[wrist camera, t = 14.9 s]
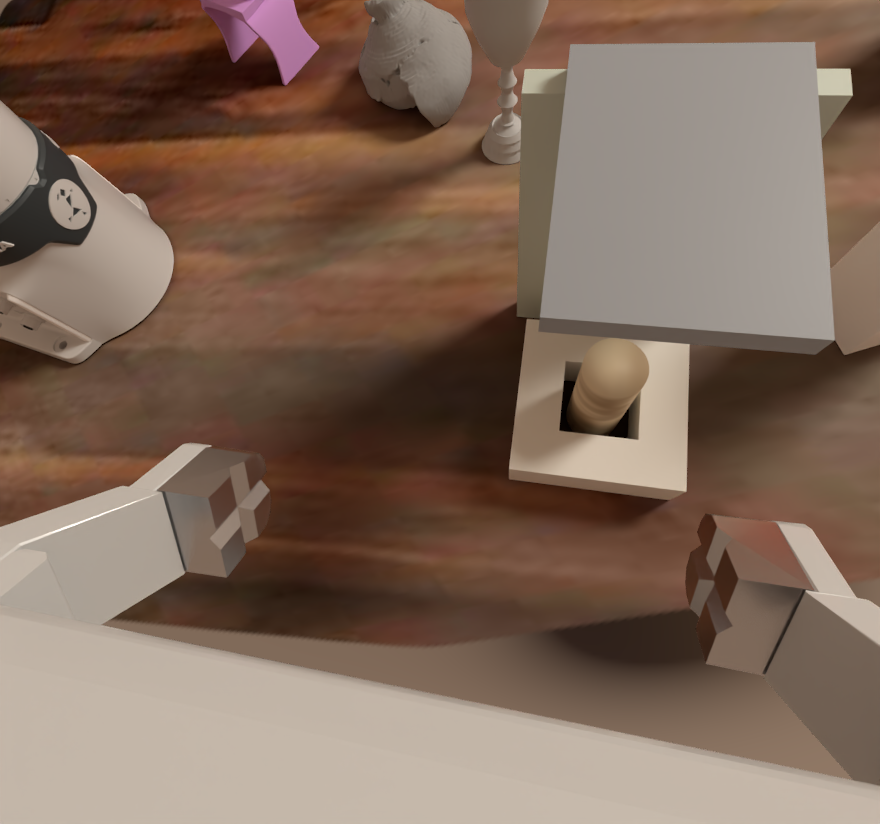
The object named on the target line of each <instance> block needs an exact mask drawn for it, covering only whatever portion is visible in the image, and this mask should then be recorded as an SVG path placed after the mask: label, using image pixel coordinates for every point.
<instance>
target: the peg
mask: <svg viewBox="0 0 880 824" xmlns="http://www.w3.org/2000/svg"><path fill="white" fill-rule="evenodd" d="M648 376H649V363H648V360H647V357H646V355H645V354H644V352H643V351H642V350H641V349H640V348H639V347H638V346H637V345H635V344H634V343H632V342H630V341H627V340H624V339H619V338H610V339H605V340H602V341H599V342H597V343H596V344H594V345H593V346H592V347H591V348H590V349H589V350H588V351H587V353H586V355H585V357H584V359H583V362H582V365H581V368H580V371H579V374H578V377H577V380H576V383H575V386H574V389H573V392H572V395H571V398H570V401H569V404H568V407H567V411H566V419H567V423H568V425H569V427H570V428H571V430H572V431H573V432H574V433H583V434H591V435H600V436H607V435H609V434H610V433H611V432H612V431H613V430H614V428H615V427H616V425H617V424H618V422H619V421H620V420H621V418H622V417H623V415H624V414H625V412H626V411H627V409H628V408H629V406H630V405H631V404H632V402H633V401H634V399H635V398H636V396H637V395H638V393H639V392H640V390H641V389H642V388H643V386H644V385H645V383H646V381H647V379H648Z"/></svg>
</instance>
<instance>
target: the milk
mask: <svg viewBox="0 0 880 824" xmlns="http://www.w3.org/2000/svg"><path fill="white" fill-rule="evenodd" d="M830 276H831V290H832V305H833V320H834V335H835V341H836V343H837V344H838V346H839V348H840V349H841V351H842V353H843V354H844V355H847V354H850V353H853V352H857V351H860V350H863V349H867V348H870V347H874V346H877V345H880V222H879V223H878V224H877V225H876V226H875V227H874V228H873V229H872V230H870V231H869V232H868V233H867V234H866V235H865V236H864V237H863V238H862V239H861V240H860V241H859V242H858V243H857V244H856V245H855V246H854V247H853V248H852V249H851V250H850V251H849V252H848V253H847V254H846V255H845V256H844V257H843V258H842V259H841V260H840V261H839V262H838V263H837V264H836V265H835V266H833V267H832V268H831V269H830Z"/></svg>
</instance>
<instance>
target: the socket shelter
mask: <svg viewBox="0 0 880 824" xmlns="http://www.w3.org/2000/svg"><path fill="white" fill-rule="evenodd" d="M852 96H853V92H852V81H851V70H850V69H817V67H816V52H815V42H780V43H674V44H571V45H570V53H569V62H568V69H525V74H524V81H523V88H522V101H521V146H520V192H519V237H518V282H517V317H527V318H540V320H534V319H527V322H526V330H525V339H524V347H523V355H522V364H521V372H520V380H519V389H518V397H517V405H516V414H515V422H514V430H513V439H512V447H511V455H510V464H509V479H511V480H519V481H526V482H534V483H542V484H549V485H557V486H565V487H572V488H580V489H587V490H595V491H603V492H610V493H618V494H626V495H633V496H641V497H648V498H656V499H664V500H671V499H673V498H675V497H677V496H679V495H681V494H683V493H685V492H686V488H687V439H688V390H689V344H693V345H705V346H717V347H729V348H741V349H754V350H766V351H778V352H790V353H802V354H814V355H816V354H817V353H818V352H820V351H821V350H822V349H824V348H825V347H827V346H828V345H829V344H831V343H832V342H833V341H835V335H834V320H833V305H832V290H831V276H830V261H829V246H828V231H827V216H826V201H825V186H824V171H823V156H822V141H821V140H822V138H823V137H824V136H825V134H826V133H827V131H828V130H829V129H830V127H831V126H832V124H833V123H834V121H835V120H836V119H837V117H838V116H839V114H840V113H841V112H842V110H843V109H844V107H845V106H846V104H847V103H848V102H849V100H850V99H851V97H852ZM610 338H619V339H624V340H627V341H630V342H632V343H634V344H635V345H637V346H638V347H639V348H640V349H641V350H642V351H643V352H644V354H645V355H646V357H647V360H648V363H649V376H648V379H647V381H646V383H645V385H644V386H643V388H642V389H641V390H640V392H639V393H638V395H637V396H636V398H635V399H634V401H633V402H632V404H631V405H630V406H629V419H628V437H627V438H618V437H609V436H600V435H591V434H583V433H574V432H565V431H559V427H560V416H561V406H562V395H563V385H564V381H574V382H576V380H577V377H578V374H579V371H580V368H581V365H582V362H583V359H584V357H585V355H586V353H587V351H588V350H589V349H590V348H591V347H592V346H593V345H594V344H596V343H597V342H599V341H602V340H605V339H610Z"/></svg>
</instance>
